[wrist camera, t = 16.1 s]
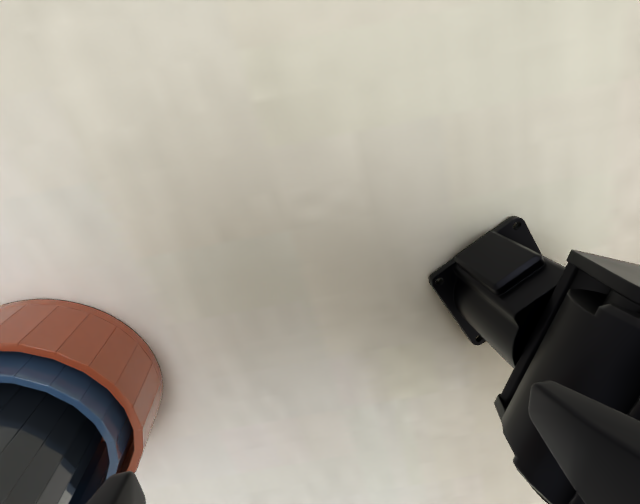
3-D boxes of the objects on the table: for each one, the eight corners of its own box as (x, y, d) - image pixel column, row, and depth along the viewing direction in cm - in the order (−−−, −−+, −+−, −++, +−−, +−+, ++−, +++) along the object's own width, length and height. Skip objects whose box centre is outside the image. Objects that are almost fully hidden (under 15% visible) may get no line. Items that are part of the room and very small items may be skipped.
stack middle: (183, 385, 22) (161, 456, 18) (71, 469, 23) (23, 557, 19) (47, 279, 19) (-24, 332, 14) (-78, 383, 20) (-182, 466, 15)
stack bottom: (202, 386, 22) (190, 439, 19) (73, 482, 24) (37, 550, 20) (44, 258, 18) (-12, 294, 15) (-103, 382, 19) (-190, 445, 16)
